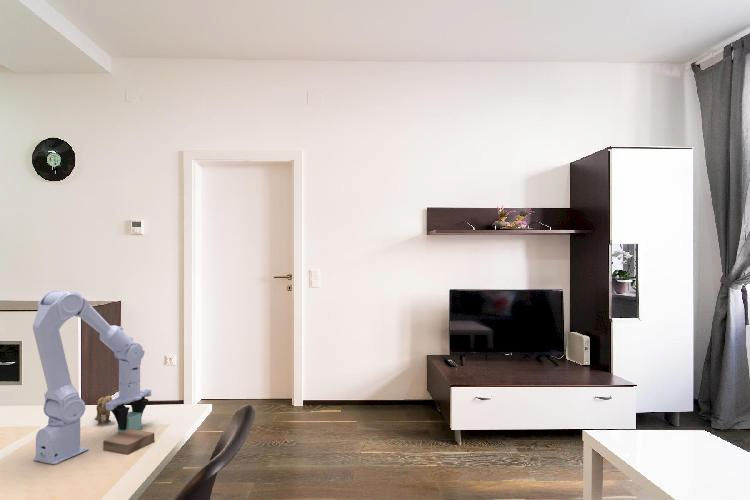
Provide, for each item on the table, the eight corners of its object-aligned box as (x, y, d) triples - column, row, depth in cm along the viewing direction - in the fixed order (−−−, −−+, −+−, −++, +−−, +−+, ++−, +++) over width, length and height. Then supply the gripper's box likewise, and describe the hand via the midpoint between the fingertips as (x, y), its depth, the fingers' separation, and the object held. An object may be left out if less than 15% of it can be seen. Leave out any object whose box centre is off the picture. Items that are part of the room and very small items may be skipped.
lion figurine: (118, 423, 144) (118, 395, 144) (99, 428, 140) (99, 399, 140) (106, 412, 154) (106, 386, 155) (88, 416, 151) (88, 389, 151)
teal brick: (128, 434, 135) (128, 417, 135) (117, 432, 136) (117, 416, 136) (141, 429, 139) (141, 412, 139) (130, 427, 140) (130, 411, 140)
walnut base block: (127, 454, 121) (127, 445, 121) (103, 449, 124) (103, 440, 124) (154, 441, 130) (154, 432, 130) (131, 437, 133) (131, 428, 133)
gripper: (118, 389, 130) (118, 436, 129) (158, 376, 143) (158, 419, 143) (100, 387, 132) (100, 433, 132) (141, 375, 146) (141, 417, 145)
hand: (129, 426), depth 137 cm, fingers closed on teal brick, 4 cm apart
